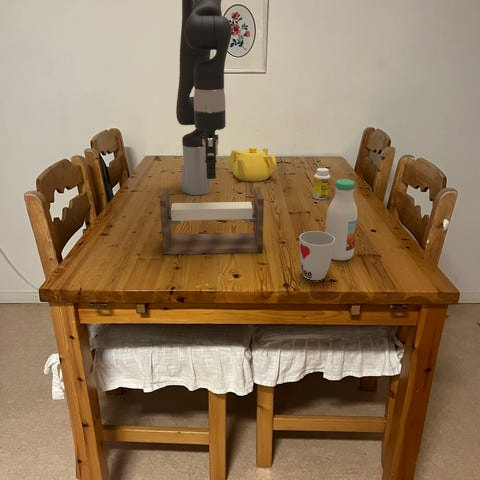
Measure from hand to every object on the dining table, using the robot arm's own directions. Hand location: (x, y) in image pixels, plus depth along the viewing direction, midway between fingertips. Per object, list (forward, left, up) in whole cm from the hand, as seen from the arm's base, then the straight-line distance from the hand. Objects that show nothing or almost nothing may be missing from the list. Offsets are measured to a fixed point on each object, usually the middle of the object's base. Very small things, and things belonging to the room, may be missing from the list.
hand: (211, 173), depth 118 cm
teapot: (-18, +64, -21) cm, 70 cm away
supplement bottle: (+14, +52, -21) cm, 58 cm away
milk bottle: (+32, +10, -21) cm, 39 cm away
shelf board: (0, 0, -12) cm, 12 cm away
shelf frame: (0, 0, -20) cm, 20 cm away
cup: (+30, -4, -21) cm, 37 cm away
